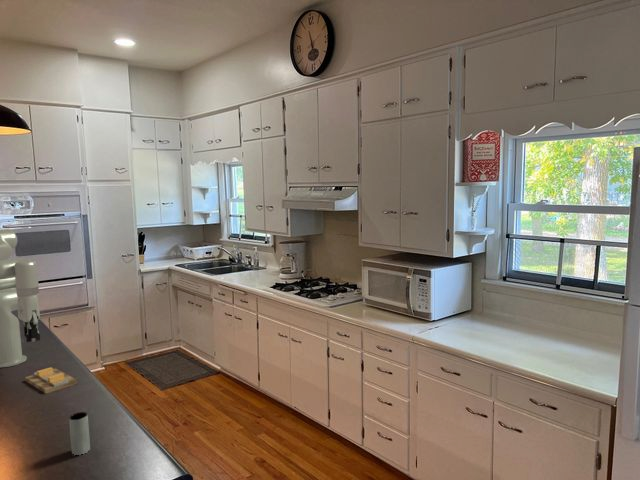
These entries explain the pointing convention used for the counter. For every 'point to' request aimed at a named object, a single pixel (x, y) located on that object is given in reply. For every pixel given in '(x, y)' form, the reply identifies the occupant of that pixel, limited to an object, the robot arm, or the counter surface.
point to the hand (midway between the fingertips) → (31, 336)
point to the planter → (79, 433)
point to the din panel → (46, 386)
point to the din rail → (54, 383)
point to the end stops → (51, 378)
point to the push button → (32, 338)
